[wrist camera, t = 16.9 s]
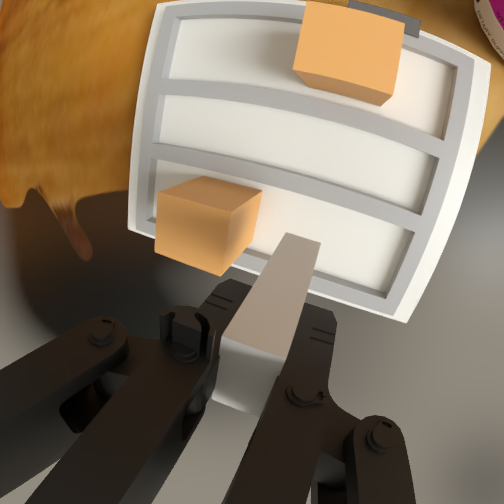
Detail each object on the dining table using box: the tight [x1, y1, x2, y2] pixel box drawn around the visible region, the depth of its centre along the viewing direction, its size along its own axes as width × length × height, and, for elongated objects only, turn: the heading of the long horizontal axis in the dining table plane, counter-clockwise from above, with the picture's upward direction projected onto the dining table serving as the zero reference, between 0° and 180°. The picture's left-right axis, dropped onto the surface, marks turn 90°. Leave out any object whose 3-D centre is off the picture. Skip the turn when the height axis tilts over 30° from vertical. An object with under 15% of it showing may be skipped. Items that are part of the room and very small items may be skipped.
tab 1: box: [155, 176, 263, 276], centre depth 16 cm, size 4×3×5 cm
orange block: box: [292, 1, 405, 107], centre depth 11 cm, size 4×3×5 cm
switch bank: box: [128, 0, 491, 323], centre depth 16 cm, size 22×18×2 cm
